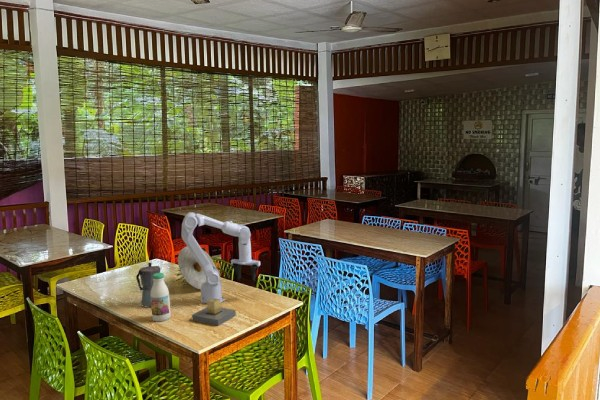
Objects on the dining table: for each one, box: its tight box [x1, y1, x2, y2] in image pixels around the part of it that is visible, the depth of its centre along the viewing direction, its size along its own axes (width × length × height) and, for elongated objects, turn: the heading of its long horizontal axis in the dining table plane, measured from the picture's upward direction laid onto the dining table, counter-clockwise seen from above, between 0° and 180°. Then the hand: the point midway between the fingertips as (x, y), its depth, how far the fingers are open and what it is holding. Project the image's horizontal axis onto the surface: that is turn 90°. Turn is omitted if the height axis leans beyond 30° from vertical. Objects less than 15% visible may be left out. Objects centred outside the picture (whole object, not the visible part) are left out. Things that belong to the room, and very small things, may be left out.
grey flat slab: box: [191, 306, 237, 327], centre depth 202 cm, size 14×12×2 cm
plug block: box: [206, 298, 222, 316], centre depth 202 cm, size 4×4×8 cm
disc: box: [172, 245, 217, 290], centre depth 246 cm, size 25×18×25 cm
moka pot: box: [135, 262, 161, 308], centre depth 219 cm, size 10×15×20 cm, turn 161°
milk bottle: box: [150, 272, 172, 322], centre depth 202 cm, size 8×8×20 cm
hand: (246, 279), depth 224 cm, fingers open, 7 cm apart
